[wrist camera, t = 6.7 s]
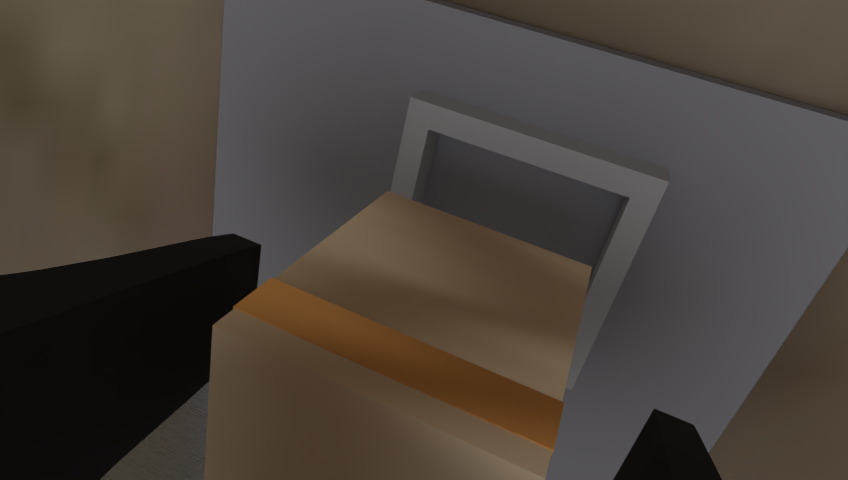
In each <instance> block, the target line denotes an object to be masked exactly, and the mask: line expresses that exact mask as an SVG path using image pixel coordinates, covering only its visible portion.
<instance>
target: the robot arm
mask: <svg viewBox="0 0 848 480" xmlns="http://www.w3.org/2000/svg"><path fill="white" fill-rule="evenodd" d="M260 255H261V245H260V244H258V243H256V242H253V241H251V240H248V239H246V238H244V237H241V236H239V235H236V234H234V233H233V234H225V235H218V236H212V237H206V238H201V239H196V240H191V241H186V242H181V243H177V244H172V245H167V246H163V247H158V248H153V249H148V250H143V251H139V252H134V253H129V254H124V255H119V256H115V257H110V258H104V259H98V260H93V261H87V262H82V263H76V264H70V265H65V266H59V267H53V268H48V269H42V270H35V271H29V272H22V273H14V274H7V275H0V480H100V479H101V478H102V477H103V476H104V475H105V474H106V473H107V472H109V471H110V470H111V469H112V468H113V467H114V466H115V465H116V464H117V463H118V462H119V461H120V460H121V459H122V458H123V457H124V456H126V455H127V454H128V453H129V452H130V451H131V450H132V449H134V448H135V447H136V446H137V445H138V444H139V443H140V442H141V441H143V440H144V439H145V438H146V437H147V436H148V435H149V434H150V433H152V432H153V431H154V430H155V429H156V428H157V427H158V426H160V425H161V424H162V423H163V422H164V421H165V420H166V419H167V418H169V417H170V416H171V415H172V414H173V413H174V412H175V411H176V410H178V409H179V408H180V407H181V406H182V405H183V404H184V403H186V402H187V401H188V400H189V399H190V398H191V397H192V396H193V395H194V394H196V393H197V392H198V391H199V390H200V389H201V388H202V387H203V386H204V385H205V384H207V383H208V382H209V381H210V363H211V345H212V326H213V325H214V324H215V323H216V322H218V321H219V320H220V319H221V318H223V317H224V316H225V315H227V314H228V313H229V312H231V311H232V310H233V306H235V305H236V304H237V303H238V302H240V301H241V300H242V299H244V298H245V297H246V296H248V295H249V294H250V293H252V292H253V291H254V290H256V289H257V285H258V275H259V265H260ZM613 480H722V479H721V477H720V475H719V473H718V471H717V469H716V467H715V465H714V463H713V461H712V459H711V457H710V455H709V453H708V451H707V449H706V447H705V445H704V443H703V441H702V439H701V437H700V435H699V433H698V431H697V430H696V428H695V426H694V425H693V424H691V423H688V422H686V421H684V420H681V419H679V418H676V417H674V416H672V415H669V414H667V413H664V412H662V411H659V410H657V409H655V408H654V410H653V411H652V413H651V415H650V417H649V418H648V420H647V422H646V423H645V425H644V427H643V429H642V430H641V432H640V434H639V436H638V437H637V439H636V441H635V443H634V444H633V446H632V448H631V450H630V451H629V453H628V455H627V456H626V458H625V460H624V462H623V463H622V465H621V467H620V469H619V470H618V472H617V474H616V476H615V477H614V479H613Z"/></svg>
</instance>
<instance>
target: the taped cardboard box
mask: <svg viewBox="0 0 848 480" xmlns="http://www.w3.org/2000/svg"><path fill="white" fill-rule="evenodd" d="M591 269H592V267H591V266H589V265H586V264H583V263H581V262H578V261H575V260H572V259H570V258H567V257H564V256H562V255H559V254H556V253H554V252H551V251H548V250H546V249H543V248H540V247H537V246H535V245H532V244H529V243H527V242H524V241H521V240H519V239H516V238H513V237H510V236H508V235H505V234H502V233H500V232H497V231H494V230H492V229H489V228H486V227H484V226H481V225H478V224H475V223H473V222H470V221H467V220H465V219H462V218H459V217H457V216H454V215H451V214H448V213H446V212H443V211H440V210H438V209H435V208H432V207H430V206H427V205H424V204H422V203H419V202H416V201H413V200H411V199H408V198H405V197H403V196H400V195H397V194H395V193H392V192H389V191H387V192H385V193H384V194H383V195H382V196H380V197H379V198H378V199H376V200H375V201H374V202H372V203H371V204H370V205H369V206H367V207H366V208H365V209H363V210H362V211H361V212H359V213H358V214H357V215H356V216H354V217H353V218H352V219H350V220H349V221H348V222H346V223H345V224H344V225H342V226H341V227H340V228H339V229H337V230H336V231H335V232H333V233H332V234H331V235H329V236H328V237H327V238H326V239H324V240H323V241H322V242H320V243H319V244H318V245H316V246H315V247H314V248H313V249H311V250H310V251H309V252H307V253H306V254H305V255H303V256H302V257H301V258H300V259H298V260H297V261H296V262H294V263H293V264H292V265H290V266H289V267H288V268H287V269H285V270H284V271H283V272H281V273H280V274H279V275H277V276H276V277H275V278H272V277H271V278H270V279H269V280H267V281H266V282H265V283H263V284H262V285H261V286H259V287H258V288H257V289H256V290H254V291H253V292H252V293H250V294H249V295H248V296H246V297H245V298H244V299H242V300H241V301H240V302H238V303H237V304H236V305H235V306H233V310H232V311H231V312H229V313H228V314H227V315H225V316H224V317H223V318H221V319H220V320H219V321H218V322H216V323H215V324H214V325H213V326H212V345H211V363H210V381H209V399H208V417H207V436H206V454H205V472H204V480H545V479H546V474H547V470H548V465H549V461H550V458H551V456H552V453H553V451H554V448H555V444H556V439H557V434H558V430H559V425H560V420H561V416H562V411H563V406H564V402H562V401H563V397H564V392H565V388H566V383H567V379H568V374H569V369H570V365H571V360H572V356H573V351H574V347H575V342H576V338H577V333H578V329H579V324H580V319H581V315H582V310H583V306H584V301H585V297H586V292H587V288H588V283H589V278H590V274H591Z"/></svg>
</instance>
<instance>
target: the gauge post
mask: <svg viewBox="0 0 848 480" xmlns="http://www.w3.org/2000/svg"><path fill="white" fill-rule="evenodd" d="M208 399H209V382H208V383H207V384H205V385H204V386H203V387H202V388H201V389H200V390H199V391H198V392H197V393H196V394H194V395H193V396H192V397H191V398H190V399H189V400H188V401H187V402H186V403H184V404H183V405H182V406H181V407H180V408H179V409H178V410H176V411H175V412H174V413H173V414H172V415H171V416H170V417H169V418H167V419H166V420H165V421H164V422H163V423H162V424H161V425H160V426H158V427H157V428H156V429H155V430H154V431H153V432H152V433H150V434H149V435H148V436H147V437H146V438H145V439H144V440H143V441H141V442H140V443H139V444H138V445H137V446H136V447H135V448H134V449H132V450H131V451H130V452H129V453H128V454H127V455H126V456H124V457H123V458H122V459H121V460H120V461H119V462H118V463H117V464H116V465H115V466H114V467H113V468H112V469H111V470H110V471H109V472H107V473H106V474H105V475H104V476H103V477H102V478H101V479H100V480H204V472H205V454H206V436H207V417H208Z"/></svg>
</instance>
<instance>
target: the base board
mask: <svg viewBox="0 0 848 480" xmlns="http://www.w3.org/2000/svg"><path fill="white" fill-rule="evenodd" d="M387 191H389V192H392V193H395V194H397V195H400V196H403V197H405V198H408V199H411V200H413V201H416V202H419V203H422V204H424V205H427V206H430V207H432V208H435V209H438V210H440V211H443V212H446V213H448V214H451V215H454V216H457V217H459V218H462V219H465V220H467V221H470V222H473V223H475V224H478V225H481V226H484V227H486V228H489V229H492V230H494V231H497V232H500V233H502V234H505V235H508V236H510V237H513V238H516V239H519V240H521V241H524V242H527V243H529V244H532V245H535V246H537V247H540V248H543V249H546V250H548V251H551V252H554V253H556V254H559V255H562V256H564V257H567V258H570V259H572V260H575V261H578V262H581V263H583V264H586V265H589V266H591V267H592V269H591V274H590V278H589V283H588V288H587V292H586V297H585V301H584V306H583V310H582V315H581V319H580V324H579V329H578V333H577V338H576V342H575V347H574V351H573V356H572V360H571V365H570V369H569V374H568V379H567V383H566V388H565V392H564V397H563V401H562V402H564V406H563V411H562V416H561V420H560V425H559V430H558V434H557V439H556V444H555V448H554V451H553V453H552V456H551V458H550V461H549V465H548V470H547V474H546V479H545V480H613V479H614V477H615V476H616V474H617V472H618V470H619V469H620V467H621V465H622V463H623V462H624V460H625V458H626V456H627V455H628V453H629V451H630V450H631V448H632V446H633V444H634V443H635V441H636V439H637V437H638V436H639V434H640V432H641V430H642V429H643V427H644V425H645V423H646V422H647V420H648V418H649V417H650V415H651V413H652V411H653V410H654V408H655V409H657V410H659V411H662V412H664V413H667V414H669V415H672V416H674V417H676V418H679V419H681V420H684V421H686V422H688V423H691V424H693V425H694V426H695V428H696V430H697V431H698V433H699V435H700V437H701V439H702V441H703V443H704V445H705V447H706V449H707V451H708V453H709V452H710V451H711V449H712V448H713V446H714V445H715V443H716V442H717V440H718V439H719V437H720V436H721V434H722V433H723V431H724V430H725V428H726V427H727V425H728V424H729V422H730V421H731V419H732V418H733V416H734V415H735V414H736V412H737V411H738V409H739V408H740V406H741V405H742V403H743V402H744V400H745V399H746V397H747V396H748V394H749V393H750V391H751V390H752V388H753V387H754V385H755V384H756V382H757V381H758V379H759V378H760V377H761V375H762V374H763V372H764V371H765V369H766V368H767V366H768V365H769V363H770V362H771V360H772V359H773V357H774V356H775V354H776V353H777V351H778V350H779V348H780V347H781V345H782V344H783V342H784V341H785V339H786V338H787V337H788V335H789V334H790V332H791V331H792V329H793V328H794V326H795V325H796V323H797V322H798V320H799V319H800V317H801V316H802V314H803V313H804V311H805V310H806V308H807V307H808V305H809V304H810V302H811V301H812V299H813V298H814V297H815V295H816V294H817V292H818V291H819V289H820V288H821V286H822V285H823V283H824V282H825V280H826V279H827V277H828V276H829V274H830V273H831V271H832V270H833V268H834V267H835V265H836V264H837V262H838V261H839V260H840V258H841V257H842V255H843V254H844V252H845V251H846V249H847V248H848V116H847V115H844V114H840V113H837V112H833V111H830V110H826V109H823V108H819V107H816V106H812V105H809V104H805V103H801V102H798V101H794V100H791V99H787V98H784V97H780V96H777V95H773V94H770V93H766V92H763V91H759V90H756V89H752V88H749V87H745V86H742V85H738V84H735V83H731V82H728V81H724V80H721V79H717V78H714V77H710V76H707V75H703V74H700V73H696V72H693V71H689V70H686V69H682V68H679V67H675V66H671V65H668V64H664V63H661V62H657V61H654V60H650V59H647V58H643V57H640V56H636V55H633V54H629V53H626V52H622V51H619V50H615V49H612V48H608V47H605V46H601V45H598V44H594V43H591V42H587V41H584V40H580V39H577V38H573V37H570V36H566V35H563V34H559V33H556V32H552V31H549V30H545V29H542V28H538V27H534V26H531V25H527V24H524V23H520V22H517V21H513V20H510V19H506V18H503V17H499V16H496V15H492V14H489V13H485V12H482V11H478V10H475V9H471V8H468V7H464V6H461V5H457V4H454V3H450V2H447V1H443V0H224V15H223V35H222V55H221V75H220V95H219V115H218V135H217V155H216V175H215V195H214V215H213V234H212V236H218V235H225V234H233V233H234V234H236V235H239V236H241V237H244V238H246V239H248V240H251V241H253V242H256V243H258V244H260V245H261V255H260V265H259V275H258V285H257V288H258V287H259V286H261V285H262V284H263V283H265V282H266V281H267V280H269V279H270V278H271V277H272V278H275V277H276V276H277V275H279V274H280V273H281V272H283V271H284V270H285V269H287V268H288V267H289V266H290V265H292V264H293V263H294V262H296V261H297V260H298V259H300V258H301V257H302V256H303V255H305V254H306V253H307V252H309V251H310V250H311V249H313V248H314V247H315V246H316V245H318V244H319V243H320V242H322V241H323V240H324V239H326V238H327V237H328V236H329V235H331V234H332V233H333V232H335V231H336V230H337V229H339V228H340V227H341V226H342V225H344V224H345V223H346V222H348V221H349V220H350V219H352V218H353V217H354V216H356V215H357V214H358V213H359V212H361V211H362V210H363V209H365V208H366V207H367V206H369V205H370V204H371V203H372V202H374V201H375V200H376V199H378V198H379V197H380V196H382V195H383V194H384V193H385V192H387Z"/></svg>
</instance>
